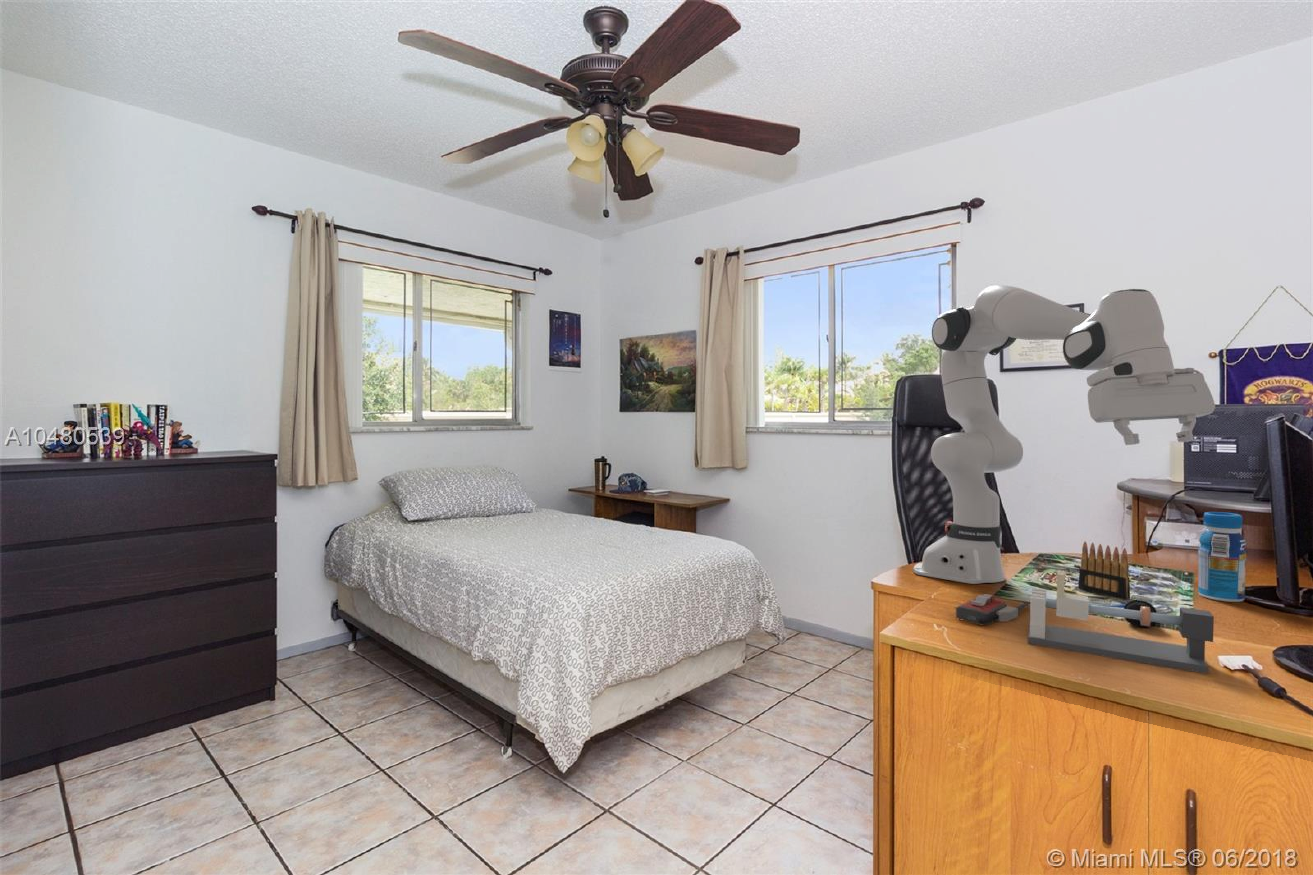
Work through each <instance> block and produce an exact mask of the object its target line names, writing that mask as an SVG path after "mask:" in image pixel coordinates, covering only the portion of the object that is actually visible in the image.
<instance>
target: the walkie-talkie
mask: <svg viewBox="0 0 1313 875" xmlns="http://www.w3.org/2000/svg"><path fill="white" fill-rule="evenodd" d="M1028 606H1029V603H1028V602H1023V603H1022V604H1019V605H1017V606H1015V607H1012V606H1008V604H1007V603H1006V602H1004V601H1001V600H997V599H996V596H995V595H993V594H988V593H983V594H980V595H977V596H976V598H974V599H971V600H969V601H967V602H965V603H963V604H960V605H957V606H956V607H955V618H956V619H957V618H959V619H958V620H960V619H963V620H962V621H964V620H965V622H969V623H973V624H976V623H978V624H977V625H980V624H982V625H981V626H988V625H990V624H992V623H994V622H997V621H998V622H1010V621H1012V620H1013V619H1016V618H1018V617H1019V612H1021V611H1022V610H1024V609H1025V608H1027V607H1028ZM995 620H996V621H995ZM989 623H990V624H989ZM987 624H988V625H987Z"/></svg>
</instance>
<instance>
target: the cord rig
mask: <svg viewBox="0 0 1313 875" xmlns="http://www.w3.org/2000/svg"><path fill="white" fill-rule="evenodd" d="M1029 605H1030V608H1029V609H1030V611H1029V613H1030V614H1029V615H1030V616H1029V628H1028V633H1027V634H1028V635H1027V644H1030V645H1035V646H1036V645H1037V646H1042V647H1047V648H1055V649H1060V650H1066V651H1071V652H1077V653H1083V654H1089V655H1096V656H1101V657H1107V658H1113V659H1117V660H1118V659H1120V660H1124V661H1125V660H1126V661H1131V662H1136V663H1137V662H1138V663H1141V664H1148V665H1154V666H1160V667H1165V668H1172V669H1176V670H1177V669H1178V670H1183V671H1190V672H1194V673H1195V672H1196V673H1200V674H1208V675H1209V673H1210V672H1209V668H1210V667H1209V665H1208V663H1207V662H1206V660H1205V659H1206V658H1205V657H1206V656H1205V655H1206V654H1205V653H1206V642H1210V643H1214V627H1215V626H1214V622H1215V620H1214V618H1215V617H1214V615H1213V613H1212V612H1211V611H1210V610H1205V609H1197V608H1196V609H1195V608H1189V607H1181V606H1180V607H1179V615H1173V614H1165V613H1158V612H1157V613H1151V612H1150V607H1144V606H1141V608H1140V611H1136V610H1129V609H1124V608H1121V607H1111V606H1104V605H1097V604H1090V603H1089V613H1088V614H1095V615H1102V616H1110V617H1117V618H1124V619H1125V618H1129V619H1136V620H1140V623H1141V625H1143V626H1150V623H1151V622H1156V623H1160V624H1167V625H1173V626H1178V629H1179V631H1178V632H1179V633H1180V635H1181V637H1182V638H1184V639H1186V645H1181V644H1174V643H1169V642H1163V641H1155V640H1150V639H1149V640H1148V639H1142V638H1135V637H1128V636H1124V635H1123V636H1122V635H1115V634H1109V633H1105V632H1104V633H1103V632H1097V631H1091V630H1082V629H1077V628H1070V627H1063V626H1057V625H1050V624H1047V623H1046V622H1047V620H1046V619H1047V617H1046V614H1047V608H1051V609H1052V608H1053V609H1057V599H1054V598H1053V599H1052V598H1047V589H1044V588H1036V587H1032V588H1031V593H1030V604H1029Z"/></svg>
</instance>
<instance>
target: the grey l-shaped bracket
mask: <svg viewBox="0 0 1313 875" xmlns="http://www.w3.org/2000/svg"><path fill="white" fill-rule="evenodd" d="M1065 574H1066V572H1065V570H1059V569H1058V570H1057V571H1056V575H1057V576H1056V600H1057V608H1056V617H1061V618H1069V619H1074V620H1075V619H1077V620H1082V621H1089V614H1090V613H1089V604H1090V603H1089V602H1090V600H1089V597H1088V596H1086V595H1078V594H1070V593H1065V582H1066V581H1065V580H1066V579H1065V577H1066V576H1065Z"/></svg>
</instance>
